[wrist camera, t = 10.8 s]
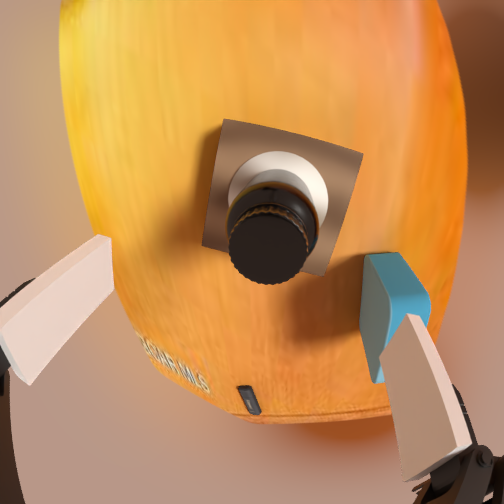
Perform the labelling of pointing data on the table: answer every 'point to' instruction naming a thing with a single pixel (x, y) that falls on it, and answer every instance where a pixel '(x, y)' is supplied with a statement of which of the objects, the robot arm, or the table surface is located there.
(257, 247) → the supplement bottle
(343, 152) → the base
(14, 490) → the robot arm
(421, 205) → the table surface
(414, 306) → the light-blue rounded block
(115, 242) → the table surface
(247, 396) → the usb stick
